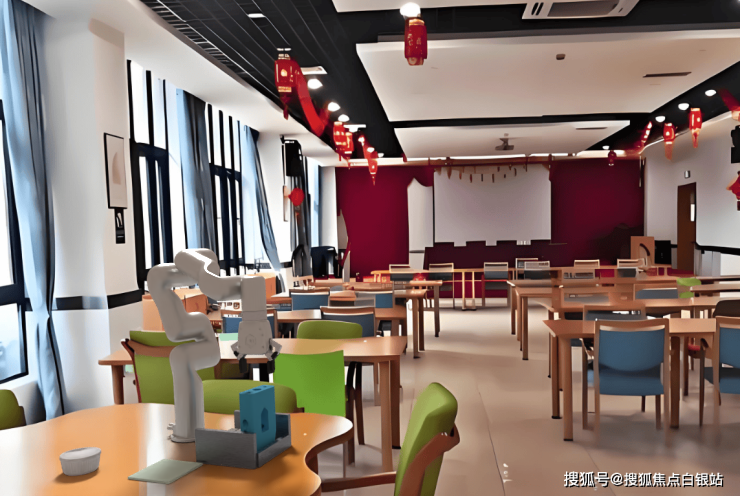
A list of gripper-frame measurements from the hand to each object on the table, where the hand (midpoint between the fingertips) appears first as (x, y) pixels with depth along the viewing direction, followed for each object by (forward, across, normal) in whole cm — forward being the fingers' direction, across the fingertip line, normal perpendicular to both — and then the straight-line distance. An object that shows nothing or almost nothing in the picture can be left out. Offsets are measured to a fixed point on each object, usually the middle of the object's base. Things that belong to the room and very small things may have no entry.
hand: (257, 372), depth 188 cm
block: (+25, -1, 0) cm, 25 cm away
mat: (+25, -20, -19) cm, 37 cm away
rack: (+25, -6, 0) cm, 26 cm away
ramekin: (+25, -46, -25) cm, 58 cm away
